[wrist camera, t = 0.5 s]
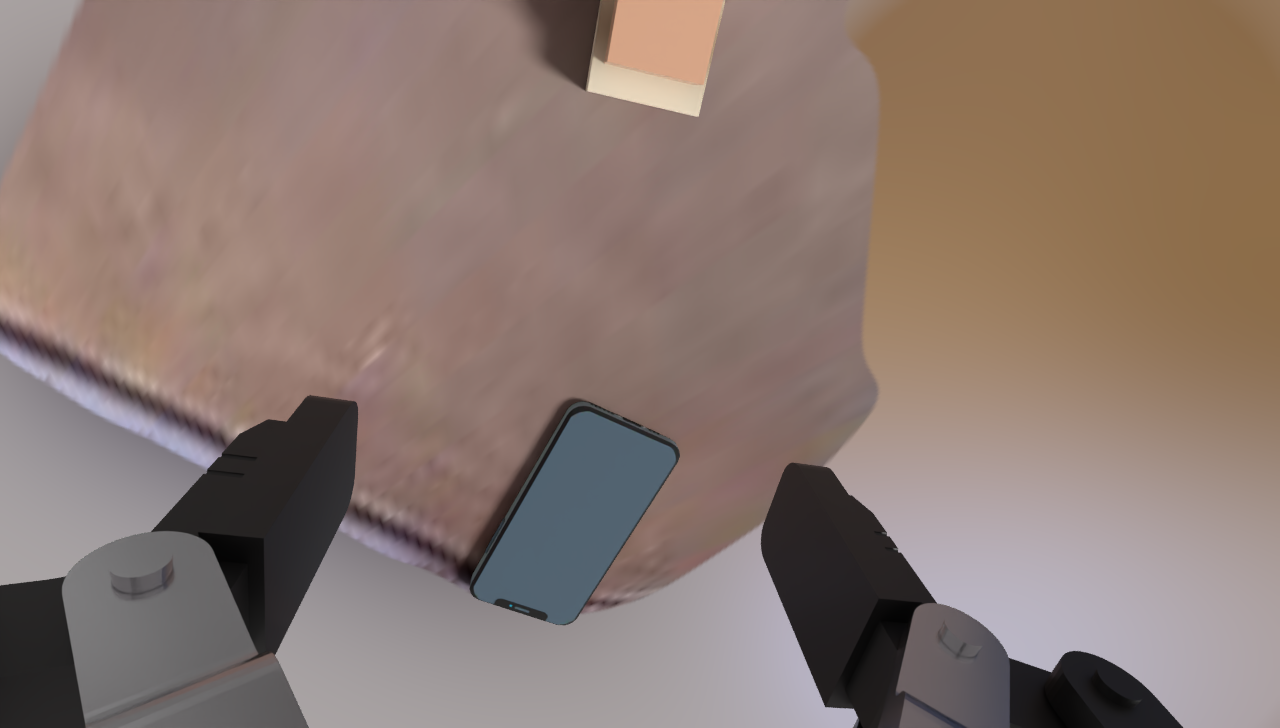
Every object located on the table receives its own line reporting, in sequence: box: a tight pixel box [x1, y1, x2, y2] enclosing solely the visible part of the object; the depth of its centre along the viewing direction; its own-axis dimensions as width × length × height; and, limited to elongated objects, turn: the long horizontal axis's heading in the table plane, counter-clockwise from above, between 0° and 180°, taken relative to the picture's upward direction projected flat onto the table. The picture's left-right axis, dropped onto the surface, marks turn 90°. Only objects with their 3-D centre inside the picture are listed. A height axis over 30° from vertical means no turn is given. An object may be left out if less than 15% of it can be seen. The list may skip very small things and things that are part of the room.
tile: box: [604, 0, 723, 85], centre depth 25 cm, size 5×4×2 cm
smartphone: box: [470, 402, 680, 625], centre depth 38 cm, size 8×2×15 cm
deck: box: [585, 0, 725, 117], centre depth 27 cm, size 7×5×2 cm
